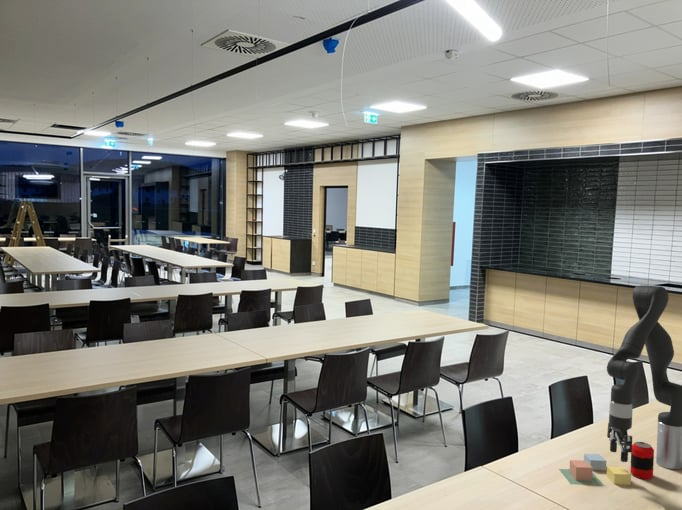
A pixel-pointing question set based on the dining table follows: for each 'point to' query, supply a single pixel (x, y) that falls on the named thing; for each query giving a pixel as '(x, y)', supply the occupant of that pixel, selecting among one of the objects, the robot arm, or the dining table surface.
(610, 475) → the mustard brick
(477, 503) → the dining table surface
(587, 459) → the slate brick
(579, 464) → the base brick
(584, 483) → the build plate
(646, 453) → the soda can
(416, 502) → the dining table surface
